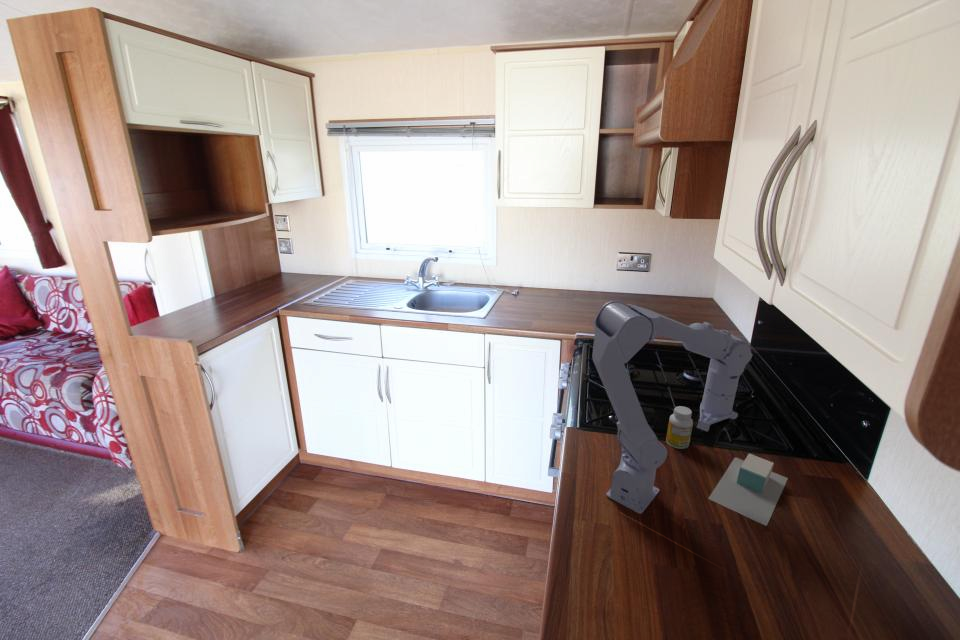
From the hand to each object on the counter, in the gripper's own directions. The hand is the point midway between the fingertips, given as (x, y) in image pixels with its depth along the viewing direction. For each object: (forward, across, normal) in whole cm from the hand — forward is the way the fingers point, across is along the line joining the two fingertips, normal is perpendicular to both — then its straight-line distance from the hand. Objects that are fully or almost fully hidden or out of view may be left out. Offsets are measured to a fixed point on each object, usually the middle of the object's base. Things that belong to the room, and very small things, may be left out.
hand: (708, 444), depth 99 cm
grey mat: (+10, +4, -9) cm, 14 cm away
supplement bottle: (+10, +10, +10) cm, 17 cm away
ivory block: (+7, +4, -8) cm, 12 cm away
